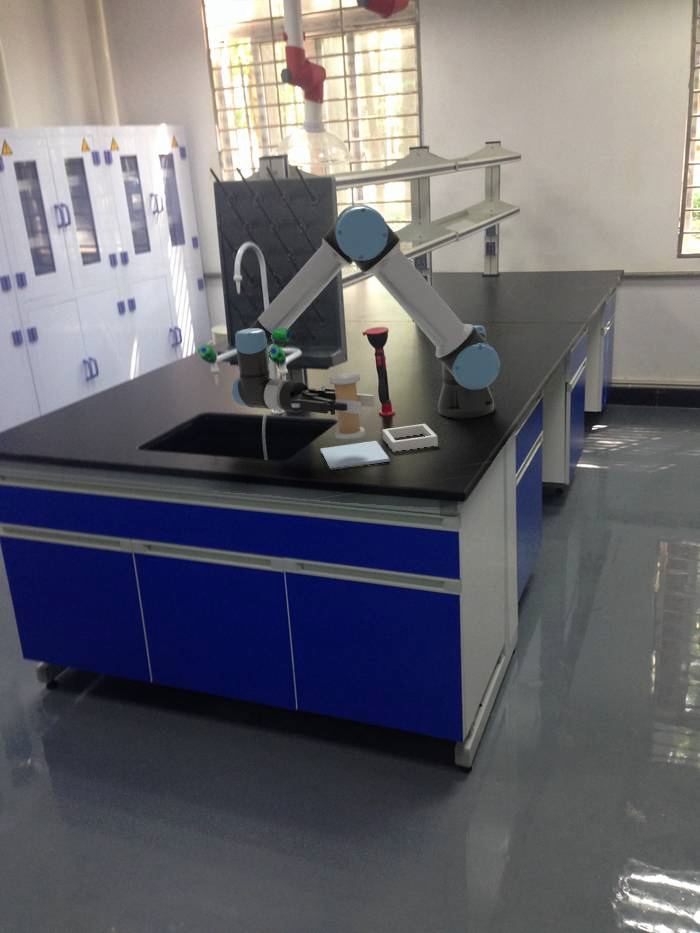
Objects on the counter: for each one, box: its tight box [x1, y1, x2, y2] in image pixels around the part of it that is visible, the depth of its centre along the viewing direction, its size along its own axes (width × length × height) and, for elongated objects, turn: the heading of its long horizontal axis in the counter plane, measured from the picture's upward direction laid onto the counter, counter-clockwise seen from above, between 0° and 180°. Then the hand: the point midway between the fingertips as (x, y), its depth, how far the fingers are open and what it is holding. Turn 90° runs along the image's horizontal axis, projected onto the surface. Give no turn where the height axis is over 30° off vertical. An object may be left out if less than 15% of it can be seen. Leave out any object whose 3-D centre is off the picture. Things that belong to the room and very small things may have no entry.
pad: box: [319, 440, 390, 469], centre depth 198 cm, size 14×14×1 cm
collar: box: [382, 423, 439, 453], centre depth 205 cm, size 11×11×2 cm
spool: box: [329, 372, 366, 440], centre depth 194 cm, size 7×7×14 cm
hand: (366, 404), depth 191 cm, fingers closed on spool, 5 cm apart
